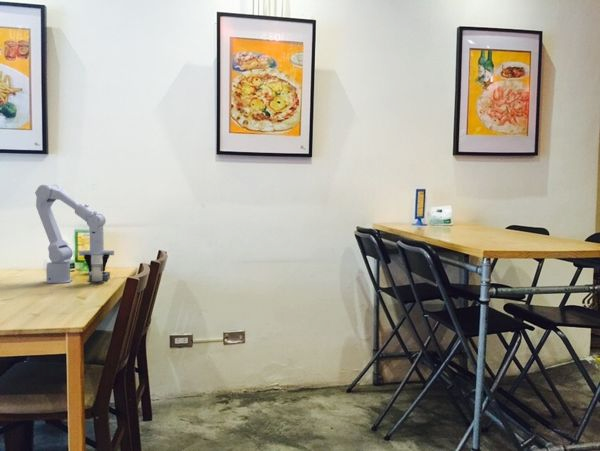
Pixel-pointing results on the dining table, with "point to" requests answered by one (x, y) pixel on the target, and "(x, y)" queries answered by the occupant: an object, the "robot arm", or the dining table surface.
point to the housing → (104, 276)
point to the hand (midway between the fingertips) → (97, 271)
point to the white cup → (96, 260)
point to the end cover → (97, 271)
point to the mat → (97, 282)
